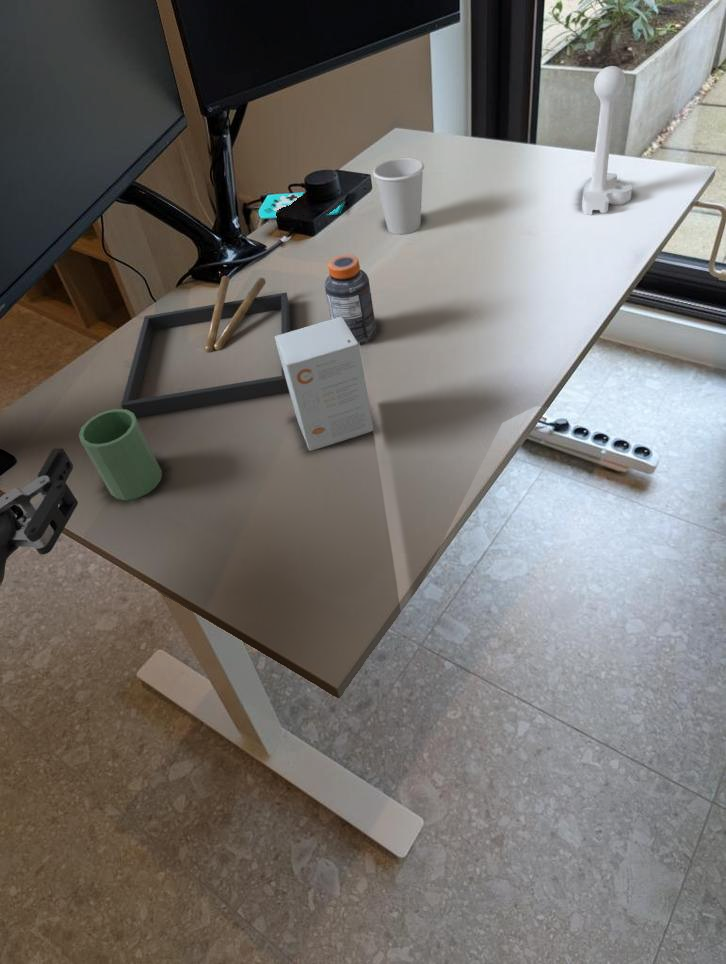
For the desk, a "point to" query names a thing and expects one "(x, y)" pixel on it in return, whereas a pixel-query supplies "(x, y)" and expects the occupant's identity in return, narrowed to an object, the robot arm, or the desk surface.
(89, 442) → the green cup
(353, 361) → the small box
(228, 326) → the stick
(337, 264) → the pill bottle
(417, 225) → the dixie cup
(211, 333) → the stick
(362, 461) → the desk surface
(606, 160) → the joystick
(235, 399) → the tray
